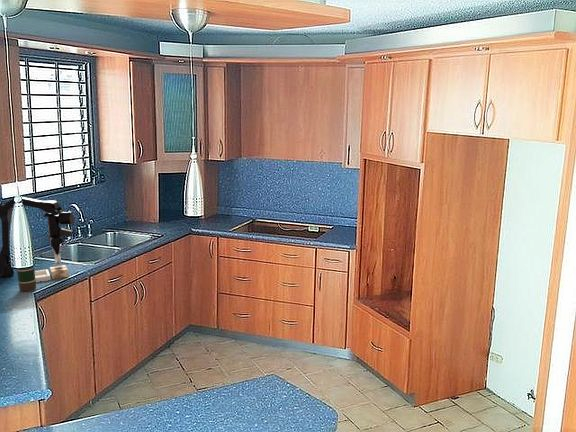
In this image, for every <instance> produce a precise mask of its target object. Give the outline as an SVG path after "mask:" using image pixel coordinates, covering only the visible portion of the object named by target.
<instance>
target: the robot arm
mask: <svg viewBox="0 0 576 432" xmlns="http://www.w3.org/2000/svg"><path fill="white" fill-rule="evenodd" d="M21 197H22V199H23V203H24V205H23V206H24V207H29V208H35V209H39V210H41V211H42V212H45V213H44V215H42V217H43V218H47V229H48V233H47V238H48V240H49V242H50V243H49V244H50V245H51V248H52V247H53V249H54V251H55V252H56V254H59V248H60V246H61V245H62V244H64V237H63V236H65V237H68V238H71V236H72V235H73V230H71V229H70V228H69V227H68V226H65V225H74V223H75V219H76V218H75V216H74V213H73V212H72V211H65V210H64V209H63V208H62V207H61V206H60V203H59V201H57V200H40V199H34V198H30V197H24V196H21ZM13 199H14V197H13V198H12V199H10V200H9V201H7V202H5V203H3V204H0V221H1V241H2V242H1V243H2V244H1V245H2V246H1V248H0V279H3V278H11V277H14V274H15V272H14V267H13V268H11V265H10V257H9V226H10V219H11V213H12V208H13V204H14V201H13ZM61 225H64V226H65V227H64V228H63V227H61Z"/></svg>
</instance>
